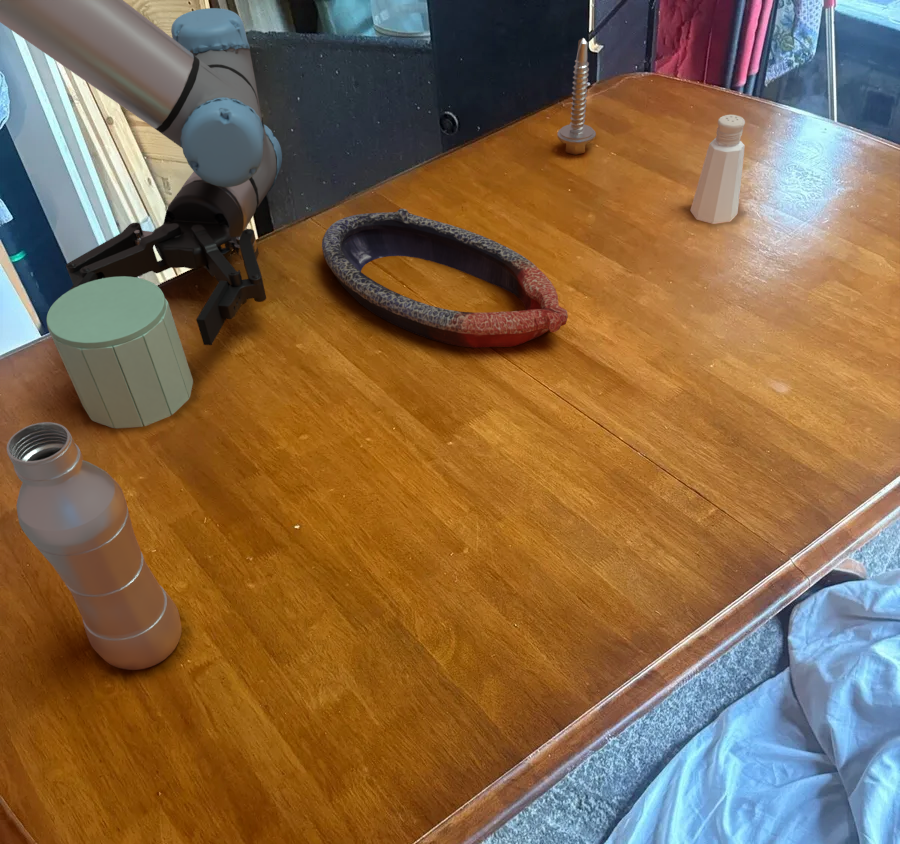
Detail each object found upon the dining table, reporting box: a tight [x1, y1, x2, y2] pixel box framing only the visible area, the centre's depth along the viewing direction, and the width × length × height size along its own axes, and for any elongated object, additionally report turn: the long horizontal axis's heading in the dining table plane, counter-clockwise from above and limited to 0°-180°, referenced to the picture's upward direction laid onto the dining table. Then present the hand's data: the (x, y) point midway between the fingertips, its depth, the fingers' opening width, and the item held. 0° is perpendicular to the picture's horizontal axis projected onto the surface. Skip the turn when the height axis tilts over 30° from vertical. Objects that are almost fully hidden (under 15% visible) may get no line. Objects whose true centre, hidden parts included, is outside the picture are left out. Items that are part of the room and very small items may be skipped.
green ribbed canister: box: [46, 276, 194, 429], centre depth 82 cm, size 10×10×10 cm
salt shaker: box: [690, 114, 746, 225], centre depth 99 cm, size 5×5×11 cm
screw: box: [557, 37, 597, 156], centre depth 110 cm, size 13×5×5 cm
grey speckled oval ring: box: [321, 208, 569, 349], centre depth 92 cm, size 16×31×5 cm, turn 47°
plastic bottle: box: [6, 421, 182, 671], centre depth 59 cm, size 6×7×20 cm
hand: (134, 327), depth 83 cm, fingers open, 13 cm apart
